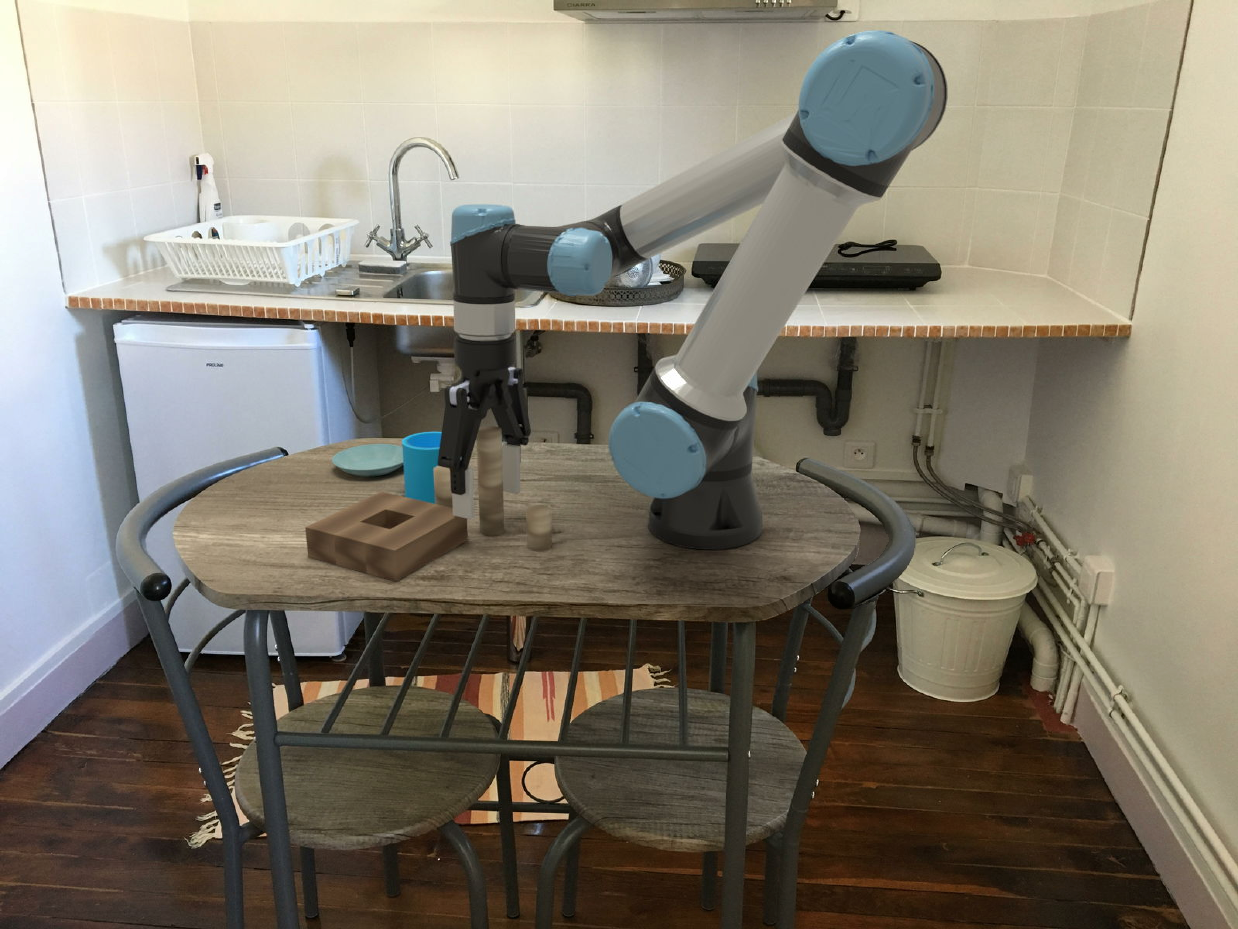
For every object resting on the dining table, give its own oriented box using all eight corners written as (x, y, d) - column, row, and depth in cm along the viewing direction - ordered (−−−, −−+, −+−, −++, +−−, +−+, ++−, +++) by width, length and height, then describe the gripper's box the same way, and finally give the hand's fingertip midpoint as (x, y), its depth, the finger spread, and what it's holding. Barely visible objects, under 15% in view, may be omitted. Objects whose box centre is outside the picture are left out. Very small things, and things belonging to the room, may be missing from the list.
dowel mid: (464, 515, 138) (462, 467, 136) (450, 523, 136) (447, 474, 133) (445, 510, 140) (443, 463, 137) (431, 518, 137) (428, 470, 135)
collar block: (467, 539, 130) (466, 511, 129) (396, 581, 119) (394, 550, 117) (383, 519, 137) (381, 491, 135) (308, 557, 125) (305, 527, 124)
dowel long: (509, 529, 134) (506, 428, 129) (495, 537, 131) (491, 434, 127) (489, 524, 135) (485, 424, 131) (475, 532, 133) (471, 431, 128)
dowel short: (556, 544, 130) (556, 508, 128) (543, 553, 127) (542, 516, 125) (535, 539, 131) (535, 503, 129) (521, 548, 128) (521, 511, 127)
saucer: (356, 489, 148) (355, 474, 147) (319, 468, 156) (317, 454, 155) (426, 471, 155) (425, 457, 155) (386, 452, 164) (385, 438, 163)
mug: (436, 508, 141) (434, 453, 138) (393, 497, 145) (389, 442, 142) (490, 483, 150) (488, 431, 148) (448, 473, 154) (445, 422, 152)
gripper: (510, 317, 135) (511, 474, 142) (401, 346, 116) (409, 525, 124) (558, 323, 132) (557, 483, 139) (454, 354, 113) (459, 538, 120)
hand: (487, 503), depth 131 cm, fingers open, 10 cm apart
